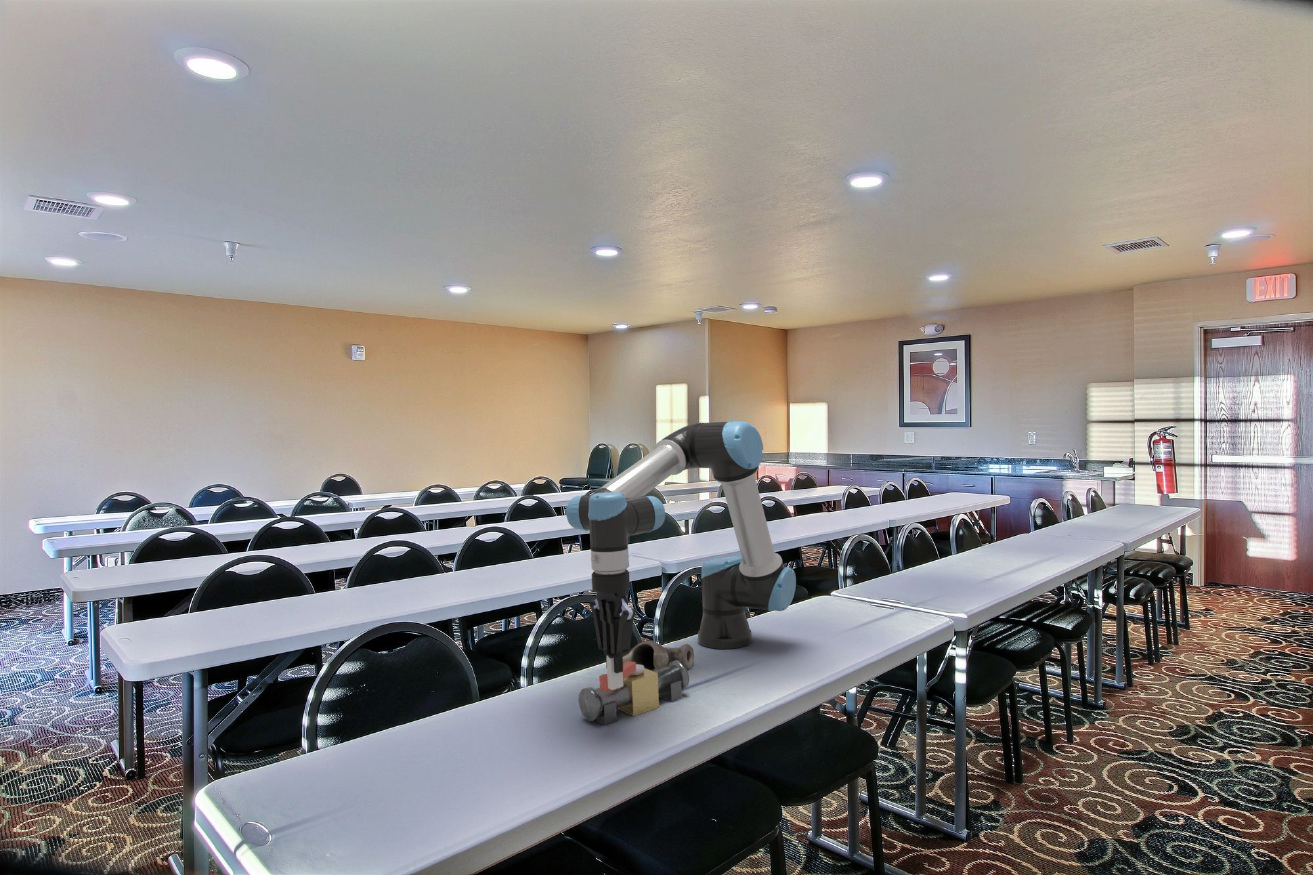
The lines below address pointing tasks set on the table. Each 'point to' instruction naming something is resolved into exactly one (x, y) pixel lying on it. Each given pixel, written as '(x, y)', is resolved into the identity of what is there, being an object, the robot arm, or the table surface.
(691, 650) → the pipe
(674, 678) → the valve pipe
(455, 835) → the table surface
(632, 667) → the lever
